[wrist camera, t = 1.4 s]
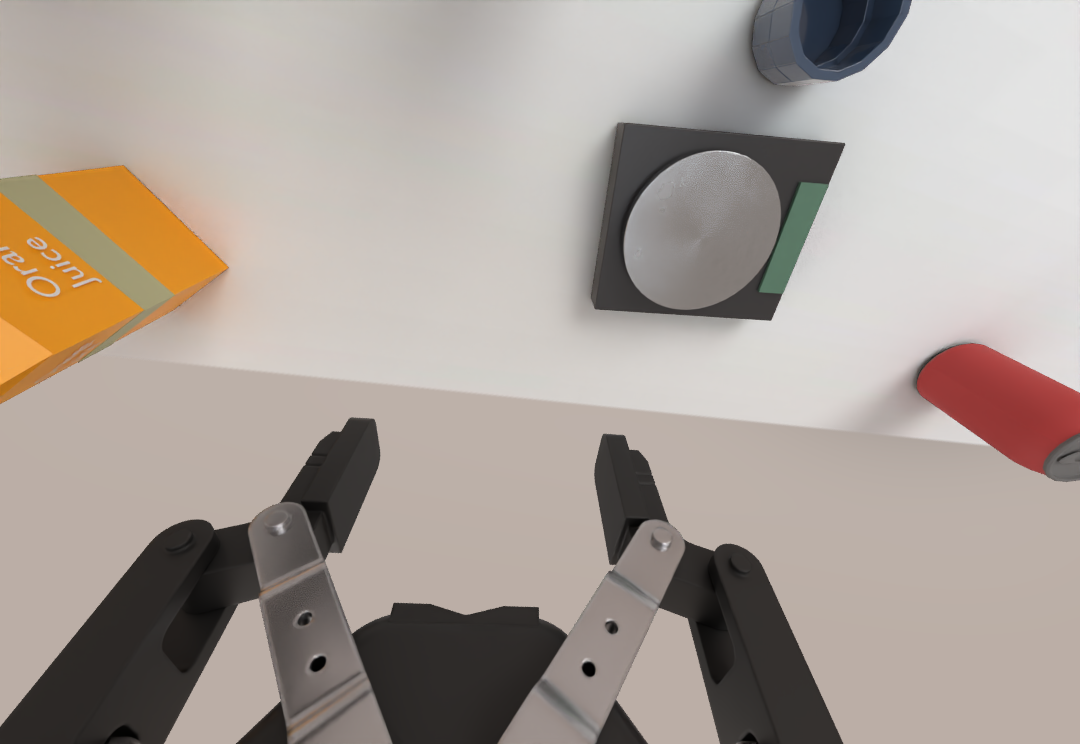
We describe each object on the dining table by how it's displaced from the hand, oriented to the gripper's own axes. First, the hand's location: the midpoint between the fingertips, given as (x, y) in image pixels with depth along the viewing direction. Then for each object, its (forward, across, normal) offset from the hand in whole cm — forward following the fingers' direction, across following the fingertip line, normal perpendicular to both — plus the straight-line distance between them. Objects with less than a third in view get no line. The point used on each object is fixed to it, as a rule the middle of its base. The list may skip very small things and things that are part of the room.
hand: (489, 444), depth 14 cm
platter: (+19, -13, -4) cm, 24 cm away
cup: (+22, -17, -16) cm, 32 cm away
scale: (+22, -14, -4) cm, 27 cm away
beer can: (+22, -44, +7) cm, 49 cm away
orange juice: (+22, +28, +2) cm, 36 cm away
